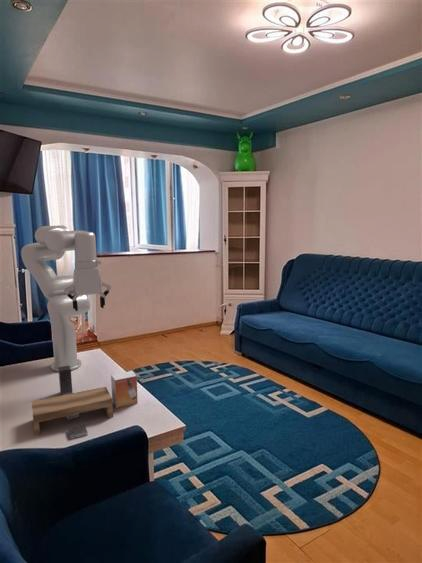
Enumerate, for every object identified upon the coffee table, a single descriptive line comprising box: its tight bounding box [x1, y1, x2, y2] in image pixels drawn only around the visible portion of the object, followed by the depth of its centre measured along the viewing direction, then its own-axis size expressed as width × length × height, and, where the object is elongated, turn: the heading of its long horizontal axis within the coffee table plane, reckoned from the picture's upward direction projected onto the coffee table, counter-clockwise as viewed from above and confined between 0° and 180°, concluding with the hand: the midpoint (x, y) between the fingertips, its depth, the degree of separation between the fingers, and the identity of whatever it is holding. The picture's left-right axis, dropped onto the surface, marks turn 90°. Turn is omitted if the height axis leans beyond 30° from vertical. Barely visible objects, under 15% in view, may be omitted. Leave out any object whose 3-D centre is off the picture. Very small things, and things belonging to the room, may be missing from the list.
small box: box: [110, 370, 138, 409], centre depth 140 cm, size 8×6×10 cm
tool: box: [57, 366, 80, 421], centre depth 139 cm, size 22×4×10 cm, turn 26°
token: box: [67, 423, 88, 440], centre depth 122 cm, size 5×5×2 cm
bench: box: [31, 386, 114, 436], centre depth 130 cm, size 10×24×6 cm, turn 116°
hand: (89, 308), depth 152 cm, fingers open, 9 cm apart
